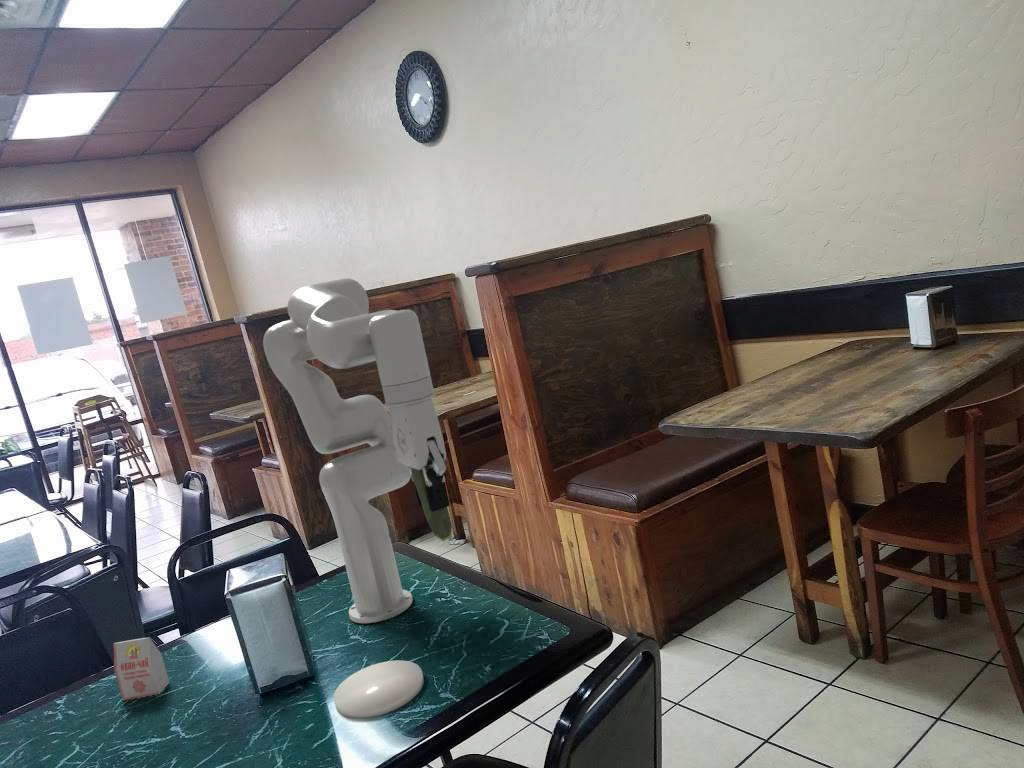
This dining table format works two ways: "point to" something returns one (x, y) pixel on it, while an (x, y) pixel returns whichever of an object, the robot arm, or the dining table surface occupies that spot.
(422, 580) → the dining table surface
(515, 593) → the dining table surface
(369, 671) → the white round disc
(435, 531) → the vegetable
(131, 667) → the tea bag
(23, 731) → the dining table surface
